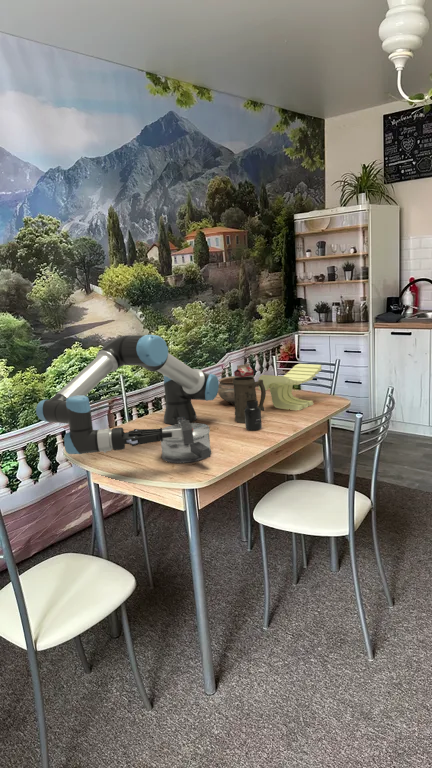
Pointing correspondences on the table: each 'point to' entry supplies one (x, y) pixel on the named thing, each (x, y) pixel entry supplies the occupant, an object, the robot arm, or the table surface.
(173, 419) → the robot arm
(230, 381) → the cooking pot
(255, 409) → the supplement bottle
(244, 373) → the juice carton
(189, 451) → the pot
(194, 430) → the lid
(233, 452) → the table surface
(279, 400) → the slatted curved stool
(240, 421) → the beer stein
